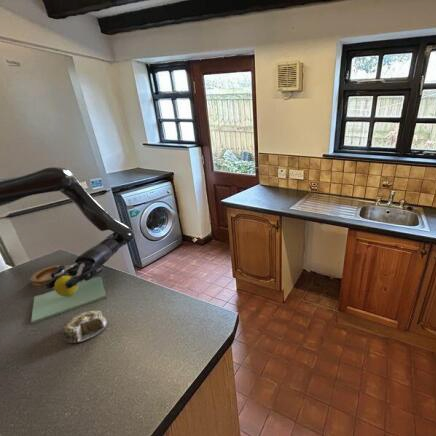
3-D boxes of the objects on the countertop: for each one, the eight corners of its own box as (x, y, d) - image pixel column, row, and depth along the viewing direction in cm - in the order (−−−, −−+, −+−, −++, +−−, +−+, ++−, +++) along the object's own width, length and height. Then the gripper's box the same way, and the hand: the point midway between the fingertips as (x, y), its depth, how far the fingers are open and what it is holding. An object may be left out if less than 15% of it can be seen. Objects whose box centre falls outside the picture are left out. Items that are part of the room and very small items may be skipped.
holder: (30, 290, 85) (28, 286, 84) (32, 276, 92) (30, 271, 92) (71, 278, 92) (69, 274, 91) (70, 265, 99) (68, 261, 98)
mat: (32, 323, 72) (31, 321, 71) (35, 298, 81) (34, 296, 81) (106, 297, 83) (105, 295, 83) (101, 277, 92) (100, 276, 92)
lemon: (66, 303, 79) (57, 283, 76) (55, 298, 80) (46, 279, 77) (84, 292, 83) (77, 273, 80) (74, 288, 85) (66, 269, 82)
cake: (56, 339, 68) (48, 324, 66) (94, 314, 76) (88, 300, 75) (78, 349, 64) (70, 333, 62) (115, 322, 73) (110, 307, 71)
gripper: (72, 249, 91) (29, 277, 75) (111, 249, 92) (77, 276, 76) (78, 265, 94) (38, 296, 78) (116, 265, 94) (84, 295, 79)
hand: (57, 286), depth 77 cm, fingers closed on lemon, 5 cm apart
